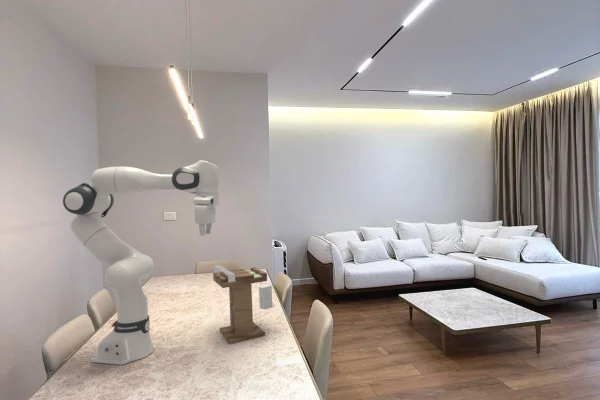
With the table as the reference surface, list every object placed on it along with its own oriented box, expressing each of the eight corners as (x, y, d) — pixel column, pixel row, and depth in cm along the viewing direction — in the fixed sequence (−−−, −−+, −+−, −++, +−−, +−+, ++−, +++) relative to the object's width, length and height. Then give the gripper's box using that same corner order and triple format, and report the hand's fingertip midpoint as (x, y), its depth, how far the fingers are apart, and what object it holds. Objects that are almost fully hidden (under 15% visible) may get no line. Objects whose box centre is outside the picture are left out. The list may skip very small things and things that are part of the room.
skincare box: (267, 305, 192) (267, 284, 192) (272, 306, 189) (271, 285, 189) (259, 307, 188) (258, 286, 188) (264, 309, 185) (263, 287, 184)
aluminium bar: (213, 271, 165) (213, 265, 165) (219, 270, 166) (219, 264, 166) (228, 282, 142) (228, 275, 142) (235, 281, 143) (235, 274, 143)
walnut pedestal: (215, 332, 155) (213, 272, 155) (256, 323, 164) (254, 267, 164) (224, 345, 141) (222, 279, 141) (269, 334, 150) (266, 273, 150)
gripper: (205, 201, 146) (203, 232, 146) (192, 199, 126) (190, 236, 125) (219, 201, 146) (218, 233, 146) (209, 199, 126) (207, 236, 126)
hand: (205, 234), depth 135 cm, fingers open, 8 cm apart
